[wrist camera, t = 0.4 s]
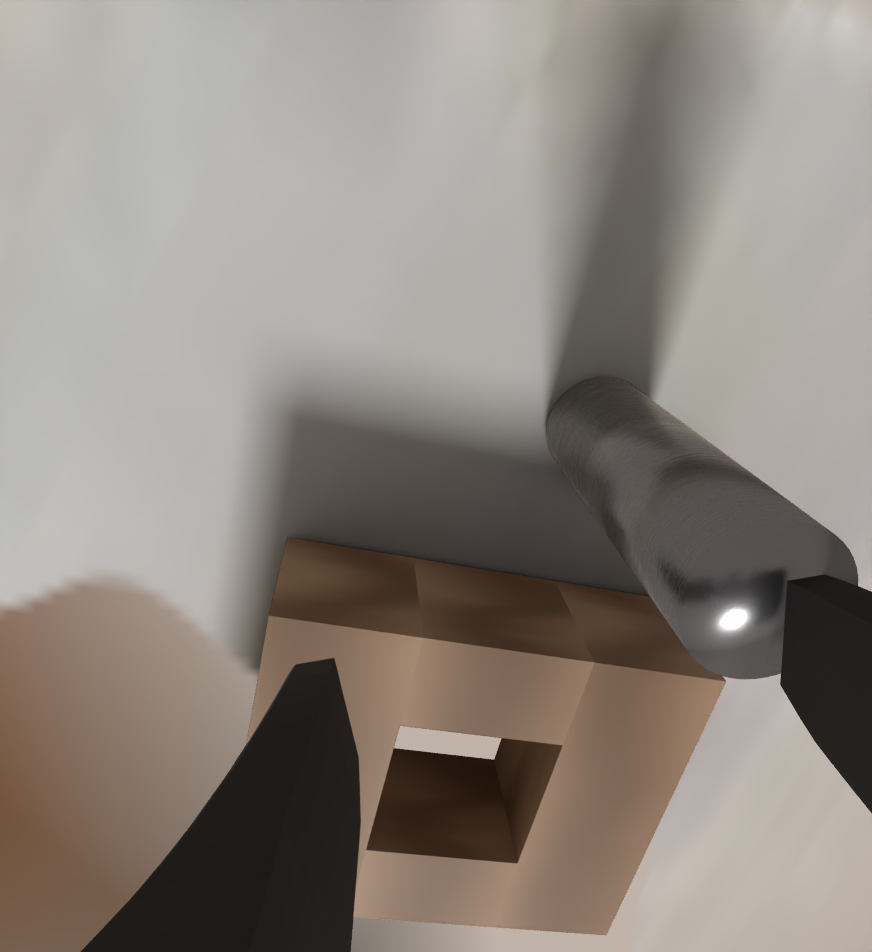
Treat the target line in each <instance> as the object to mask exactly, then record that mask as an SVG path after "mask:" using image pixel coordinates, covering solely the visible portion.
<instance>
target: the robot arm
mask: <svg viewBox="0 0 872 952" xmlns="http://www.w3.org/2000/svg"><path fill="white" fill-rule="evenodd" d="M780 685H781V687H782V688H783V690H784V692H785V693H786V695H787V697H788V698H789V700H790V702H791V704H792V705H793V707H794V709H795V710H796V712H797V714H798V715H799V717H800V719H801V720H802V722H803V723H804V725H805V727H806V728H807V730H808V731H809V733H810V734H811V736H812V738H813V739H814V741H815V742H816V744H817V745H818V746H819V747H820V749H821V750H822V751H823V753H824V754H825V755H826V757H827V758H828V759H829V760H830V762H831V763H832V764H833V765H834V767H835V768H836V769H837V770H838V772H839V773H840V774H841V775H842V777H843V778H844V779H845V781H846V782H847V783H848V784H849V786H850V787H851V788H852V789H853V791H854V792H855V793H856V794H857V796H858V797H859V798H860V799H861V800H862V802H863V803H864V804H865V805H866V807H867V808H868V809H869V810H870V812H871V813H872V592H871V591H868V590H866V589H863V588H861V587H858V586H856V585H853V584H851V583H848V582H846V581H843V580H840V579H837V578H834V577H831V576H829V575H825V574H824V575H818V576H812V577H806V578H800V579H794V580H789V581H787V591H786V606H785V621H784V637H783V652H782V667H781V683H780ZM360 827H361V807H360V775H359V756H358V752H357V748H356V744H355V740H354V736H353V732H352V728H351V724H350V720H349V715H348V711H347V707H346V703H345V699H344V695H343V691H342V687H341V683H340V679H339V675H338V670H337V666H336V662H335V658H330V659H324V660H318V661H312V662H307V663H301V664H296V665H295V666H294V667H293V668H292V670H291V671H290V673H289V674H288V676H287V678H286V679H285V681H284V683H283V685H282V686H281V688H280V690H279V692H278V693H277V695H276V697H275V699H274V700H273V702H272V704H271V705H270V707H269V709H268V710H267V712H266V714H265V715H264V717H263V719H262V720H261V722H260V724H259V725H258V727H257V729H256V730H255V732H254V733H253V735H252V737H251V738H250V740H249V741H248V743H247V744H246V746H245V747H244V749H243V751H242V752H241V754H240V755H239V757H238V758H237V760H236V761H235V763H234V765H233V766H232V768H231V769H230V771H229V772H228V774H227V775H226V777H225V778H224V780H223V781H222V783H221V784H220V785H219V787H218V788H217V790H216V791H215V792H214V794H213V795H212V796H211V798H210V799H209V801H208V802H207V803H206V805H205V806H204V808H203V809H202V810H201V812H200V813H199V815H198V816H197V817H196V819H195V820H194V822H193V823H192V825H191V826H190V827H189V828H188V830H187V831H186V832H185V834H184V835H183V836H182V837H181V839H180V840H179V841H178V843H177V844H176V845H175V846H174V848H173V849H172V850H171V851H170V853H169V854H168V855H167V856H166V858H165V859H164V860H163V861H162V863H161V864H160V865H159V866H158V867H157V869H156V870H155V871H154V872H153V873H152V874H151V876H150V877H149V878H148V879H147V880H146V882H145V883H144V884H143V885H142V887H141V888H140V889H139V890H138V891H137V892H136V893H135V894H134V896H133V897H132V898H131V899H130V900H129V901H128V902H127V903H126V904H125V906H124V907H123V908H122V909H121V910H120V911H119V912H118V913H117V914H116V915H115V916H114V917H113V918H112V919H111V920H110V921H109V922H108V924H107V925H106V926H105V927H104V928H103V929H102V930H101V931H100V932H99V933H98V934H97V935H96V936H95V937H94V938H93V940H91V941H90V942H89V944H88V945H87V946H86V947H85V948H84V949H83V950H82V951H81V952H350V951H351V940H352V928H353V915H354V903H355V891H356V879H357V866H358V854H359V841H360Z"/></svg>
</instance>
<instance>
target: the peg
mask: <svg viewBox="0 0 872 952" xmlns="http://www.w3.org/2000/svg"><path fill="white" fill-rule="evenodd" d="M546 439H547V444H548V448H549V451H550V453H551V455H552V457H553V458H554V459H555V461H556V462H557V464H558V465H559V467H560V468H561V470H562V471H563V472H564V474H565V475H566V477H567V478H568V480H569V481H570V482H571V484H572V485H573V487H574V488H575V490H576V491H577V493H578V494H579V495H580V497H581V498H582V500H583V501H584V503H585V504H586V505H587V507H588V508H589V510H590V511H591V513H592V514H593V516H594V517H595V518H596V520H597V521H598V523H599V524H600V526H601V527H602V528H603V530H604V531H605V533H606V534H607V536H608V537H609V539H610V540H611V541H612V543H613V544H614V546H615V547H616V549H617V550H618V551H619V553H620V554H621V556H622V557H623V559H624V560H625V562H626V563H627V564H628V566H629V567H630V569H631V570H632V572H633V573H634V574H635V576H636V577H637V579H638V580H639V582H640V583H641V585H642V586H643V587H644V589H645V590H646V592H647V593H648V595H649V596H650V597H651V599H652V600H653V602H654V603H655V605H656V606H657V608H658V609H659V610H660V612H661V613H662V615H663V616H664V618H665V619H666V620H667V622H668V623H669V625H670V626H671V628H672V629H673V631H674V632H675V633H676V635H677V636H678V638H679V639H680V641H681V642H682V643H683V645H684V646H685V648H686V649H687V651H688V652H689V654H690V655H691V656H692V657H693V658H694V659H695V660H696V662H697V663H699V664H700V665H701V666H703V667H704V668H706V669H707V670H709V671H711V672H713V673H716V674H718V675H721V676H725V677H729V678H736V679H757V678H764V677H769V676H773V675H777V674H780V673H781V667H782V652H783V637H784V621H785V606H786V591H787V581H789V580H794V579H800V578H806V577H812V576H818V575H824V574H825V575H829V576H831V577H834V578H837V579H840V580H843V581H846V582H848V583H851V584H853V585H856V586H858V574H857V567H856V564H855V561H854V558H853V556H852V554H851V552H850V550H849V549H848V547H847V546H846V545H845V544H844V542H843V541H842V540H840V539H839V538H838V537H837V536H836V535H835V534H833V533H832V532H831V531H829V530H828V529H827V528H825V527H824V526H822V525H821V524H820V523H818V522H817V521H816V520H814V519H813V518H812V517H810V516H809V515H807V514H806V513H805V512H803V511H802V510H801V509H799V508H798V507H797V506H795V505H794V504H793V503H791V502H790V501H788V500H787V499H786V498H784V497H783V496H782V495H780V494H779V493H778V492H776V491H775V490H773V489H772V488H771V487H769V486H768V485H767V484H765V483H764V482H763V481H761V480H760V479H759V478H757V477H756V476H754V475H753V474H752V473H750V472H749V471H748V470H746V469H745V468H744V467H742V466H741V465H739V464H738V463H737V462H735V461H734V460H733V459H731V458H730V457H729V456H727V455H726V454H725V453H723V452H722V451H720V450H719V449H718V448H716V447H715V446H714V445H712V444H711V443H710V442H708V441H707V440H705V439H704V438H703V437H701V436H700V435H699V434H697V433H696V432H695V431H693V430H692V429H691V428H689V427H688V426H686V425H685V424H684V423H682V422H681V421H680V420H678V419H677V418H676V417H674V416H673V415H671V414H670V413H669V412H667V411H666V410H665V409H663V408H662V407H661V406H659V405H658V404H657V403H655V402H654V401H652V400H651V399H650V398H648V397H647V396H646V395H644V394H643V393H642V392H640V391H639V390H637V389H636V388H635V387H633V386H632V385H630V384H629V383H627V382H625V381H623V380H620V379H617V378H611V377H598V378H592V379H588V380H585V381H583V382H580V383H579V384H577V385H575V386H573V387H572V388H570V389H569V390H568V391H567V392H565V393H564V394H563V395H562V396H561V398H560V399H559V400H558V401H557V403H556V404H555V405H554V407H553V409H552V411H551V413H550V416H549V419H548V423H547V429H546Z"/></svg>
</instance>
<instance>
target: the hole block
mask: <svg viewBox="0 0 872 952" xmlns="http://www.w3.org/2000/svg"><path fill="white" fill-rule="evenodd" d="M330 658H335V662H336V666H337V670H338V675H339V679H340V683H341V687H342V691H343V695H344V699H345V703H346V707H347V711H348V715H349V720H350V724H351V728H352V732H353V736H354V740H355V744H356V748H357V752H358V756H359V775H360V807H361V827H360V841H359V854H358V866H357V879H356V891H355V903H354V915H353V917H358V918H372V919H385V920H400V921H413V922H428V923H442V924H455V925H469V926H484V927H497V928H511V929H526V930H540V931H554V932H567V933H583V934H596V935H607V933H608V931H609V928H610V926H611V924H612V922H613V920H614V918H615V916H616V914H617V912H618V910H619V907H620V905H621V903H622V901H623V899H624V897H625V895H626V893H627V890H628V888H629V886H630V884H631V882H632V880H633V878H634V875H635V874H636V871H637V869H638V867H639V865H640V863H641V861H642V859H643V856H644V854H645V852H646V850H647V848H648V846H649V844H650V842H651V840H652V837H653V835H654V833H655V831H656V829H657V827H658V825H659V823H660V821H661V818H662V816H663V814H664V812H665V810H666V808H667V806H668V804H669V801H670V799H671V797H672V795H673V793H674V791H675V789H676V787H677V785H678V782H679V780H680V778H681V776H682V774H683V772H684V770H685V768H686V765H687V763H688V761H689V759H690V757H691V755H692V753H693V751H694V749H695V746H696V744H697V742H698V740H699V738H700V736H701V734H702V732H703V729H704V727H705V725H706V723H707V721H708V719H709V717H710V715H711V713H712V710H713V708H714V706H715V704H716V702H717V700H718V698H719V696H720V693H721V691H722V689H723V687H724V685H725V683H726V681H725V679H724V678H723V677H722V676H721V675H718V674H716V673H713V672H711V671H709V670H707V669H706V668H704V667H703V666H701V665H700V664H699V663H697V662H696V660H695V659H694V658H693V657H692V656H691V655H690V654H689V652H688V651H687V649H686V648H685V646H684V645H683V643H682V642H681V641H680V639H679V638H678V636H677V635H676V633H675V632H674V631H673V629H672V628H671V626H670V625H669V623H668V622H667V620H666V619H665V618H664V616H663V615H662V613H661V612H660V610H659V609H658V608H657V606H656V605H655V603H654V602H653V600H652V599H651V597H649V596H643V595H637V594H631V593H625V592H618V591H612V590H606V589H600V588H594V587H588V586H582V585H576V584H570V583H563V582H557V581H551V580H545V579H539V578H533V577H527V576H521V575H515V574H509V573H502V572H496V571H490V570H484V569H478V568H472V567H466V566H460V565H454V564H448V563H441V562H435V561H429V560H423V559H417V558H411V557H405V556H399V555H393V554H387V553H380V552H374V551H368V550H362V549H356V548H350V547H344V546H338V545H332V544H326V543H319V542H313V541H307V540H301V539H295V538H289V537H287V540H286V544H285V548H284V552H283V557H282V561H281V565H280V570H279V574H278V578H277V582H276V587H275V591H274V595H273V599H272V604H271V608H270V612H269V617H268V623H267V628H266V634H265V640H264V646H263V652H262V657H261V663H260V669H259V675H258V680H257V687H256V692H255V698H254V703H253V709H252V715H251V721H250V727H249V732H248V738H247V743H248V741H249V740H250V738H251V737H252V735H253V733H254V732H255V730H256V729H257V727H258V725H259V724H260V722H261V720H262V719H263V717H264V715H265V714H266V712H267V710H268V709H269V707H270V705H271V704H272V702H273V700H274V699H275V697H276V695H277V693H278V692H279V690H280V688H281V686H282V685H283V683H284V681H285V679H286V678H287V676H288V674H289V673H290V671H291V670H292V668H293V667H294V666H295V665H296V664H301V663H307V662H312V661H318V660H324V659H330ZM400 726H407V727H415V728H423V729H432V730H440V731H448V732H457V733H465V734H474V735H482V736H490V737H498V738H502V739H501V742H500V745H499V748H498V751H497V754H496V756H495V759H494V760H491V759H483V758H474V757H465V756H456V755H447V754H438V753H430V752H422V751H413V750H404V749H396V748H394V745H395V741H396V737H397V734H398V730H399V727H400Z"/></svg>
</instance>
